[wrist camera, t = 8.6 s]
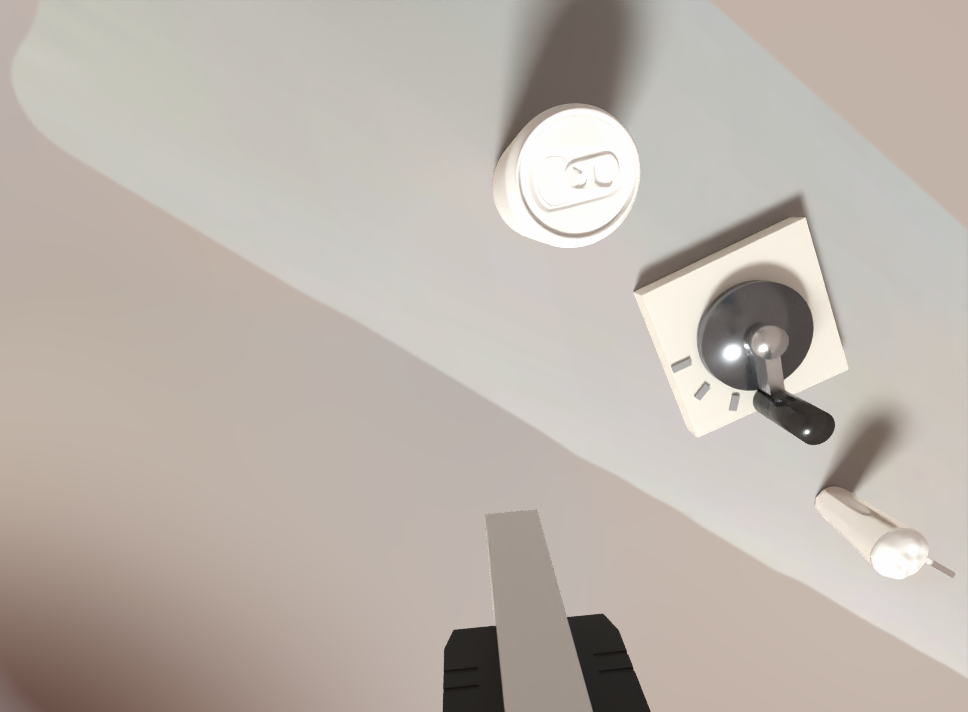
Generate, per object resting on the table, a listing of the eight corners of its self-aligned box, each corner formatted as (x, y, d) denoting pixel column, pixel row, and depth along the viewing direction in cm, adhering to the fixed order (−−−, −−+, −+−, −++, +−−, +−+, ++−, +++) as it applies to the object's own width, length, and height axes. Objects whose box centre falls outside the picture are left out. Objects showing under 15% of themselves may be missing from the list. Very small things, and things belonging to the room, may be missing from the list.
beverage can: (485, 139, 39) (498, 108, 28) (589, 124, 39) (645, 87, 28) (499, 246, 41) (516, 258, 30) (597, 231, 42) (652, 238, 30)
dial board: (633, 291, 43) (642, 296, 41) (789, 217, 42) (807, 217, 40) (687, 428, 47) (698, 438, 45) (832, 362, 46) (850, 370, 44)
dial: (688, 298, 41) (735, 316, 34) (796, 265, 41) (866, 276, 34) (711, 422, 44) (759, 461, 37) (812, 392, 44) (879, 426, 37)
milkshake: (848, 526, 51) (941, 599, 41) (800, 516, 50) (882, 588, 40) (868, 486, 50) (967, 551, 40) (819, 475, 49) (908, 539, 39)
